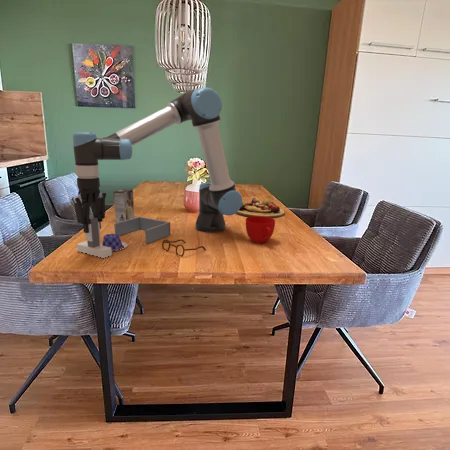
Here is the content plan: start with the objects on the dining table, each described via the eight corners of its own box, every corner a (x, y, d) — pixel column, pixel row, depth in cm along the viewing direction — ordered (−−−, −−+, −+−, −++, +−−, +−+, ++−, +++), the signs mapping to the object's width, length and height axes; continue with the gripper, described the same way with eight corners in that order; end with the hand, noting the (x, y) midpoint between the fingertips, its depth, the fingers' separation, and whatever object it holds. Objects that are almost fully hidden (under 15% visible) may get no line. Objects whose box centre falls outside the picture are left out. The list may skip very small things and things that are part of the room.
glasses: (161, 250, 130) (161, 238, 128) (185, 243, 139) (185, 232, 138) (182, 259, 121) (182, 246, 120) (207, 250, 131) (207, 239, 129)
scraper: (111, 255, 121) (109, 219, 117) (103, 258, 117) (100, 221, 114) (86, 248, 127) (83, 214, 123) (77, 251, 124) (74, 216, 120)
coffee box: (123, 217, 175) (122, 188, 171) (134, 218, 174) (133, 189, 170) (115, 222, 166) (113, 191, 162) (126, 223, 165) (124, 192, 161)
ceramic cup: (254, 249, 132) (255, 226, 130) (240, 237, 148) (241, 216, 145) (282, 247, 136) (284, 225, 133) (266, 236, 152) (268, 215, 149)
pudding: (92, 246, 131) (91, 234, 130) (121, 241, 138) (120, 229, 137) (102, 255, 122) (101, 242, 121) (132, 249, 129) (131, 236, 128)
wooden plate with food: (234, 218, 183) (235, 204, 181) (231, 206, 214) (232, 193, 212) (289, 220, 185) (291, 206, 183) (278, 208, 215) (279, 196, 213)
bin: (170, 234, 148) (170, 222, 147) (147, 244, 135) (146, 230, 133) (139, 228, 157) (139, 216, 155) (115, 236, 143) (114, 223, 141)
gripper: (98, 174, 123) (103, 232, 129) (60, 178, 109) (67, 243, 116) (112, 175, 120) (116, 235, 126) (75, 180, 106) (82, 247, 112)
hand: (93, 239), depth 121 cm, fingers closed on scraper, 3 cm apart
